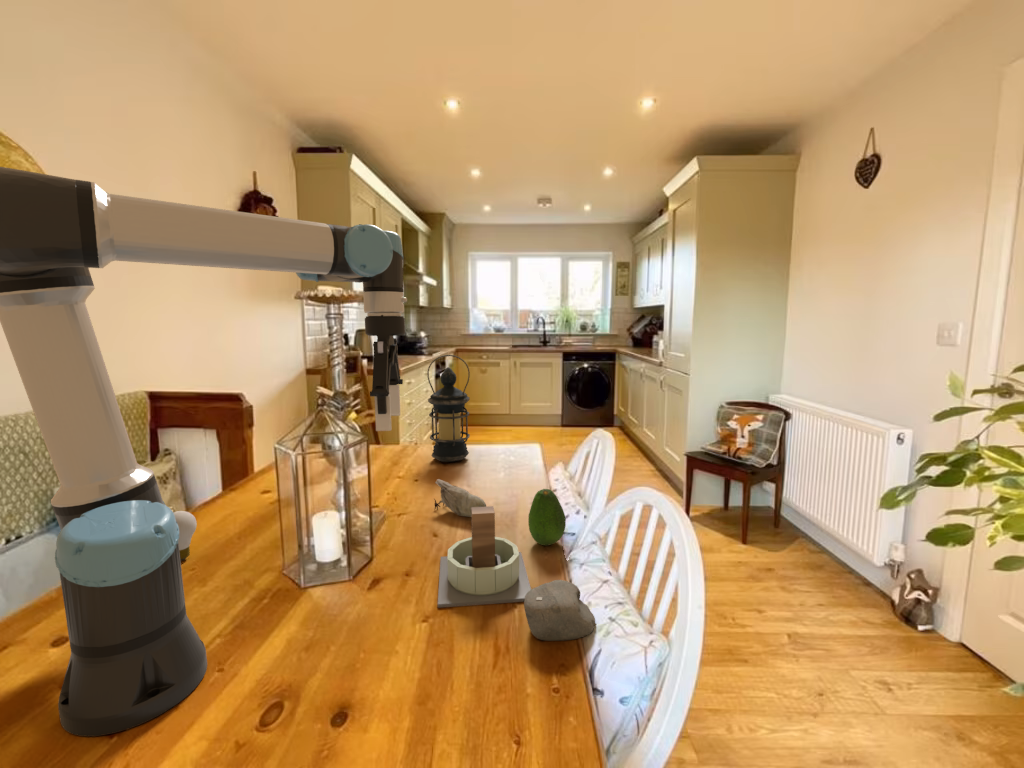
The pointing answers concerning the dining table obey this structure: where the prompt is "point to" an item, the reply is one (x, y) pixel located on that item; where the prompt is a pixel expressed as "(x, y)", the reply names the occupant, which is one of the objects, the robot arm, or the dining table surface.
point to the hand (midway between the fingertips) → (389, 422)
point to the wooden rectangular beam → (483, 537)
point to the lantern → (449, 417)
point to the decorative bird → (458, 499)
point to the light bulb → (185, 531)
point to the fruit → (546, 518)
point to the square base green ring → (482, 576)
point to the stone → (557, 612)
